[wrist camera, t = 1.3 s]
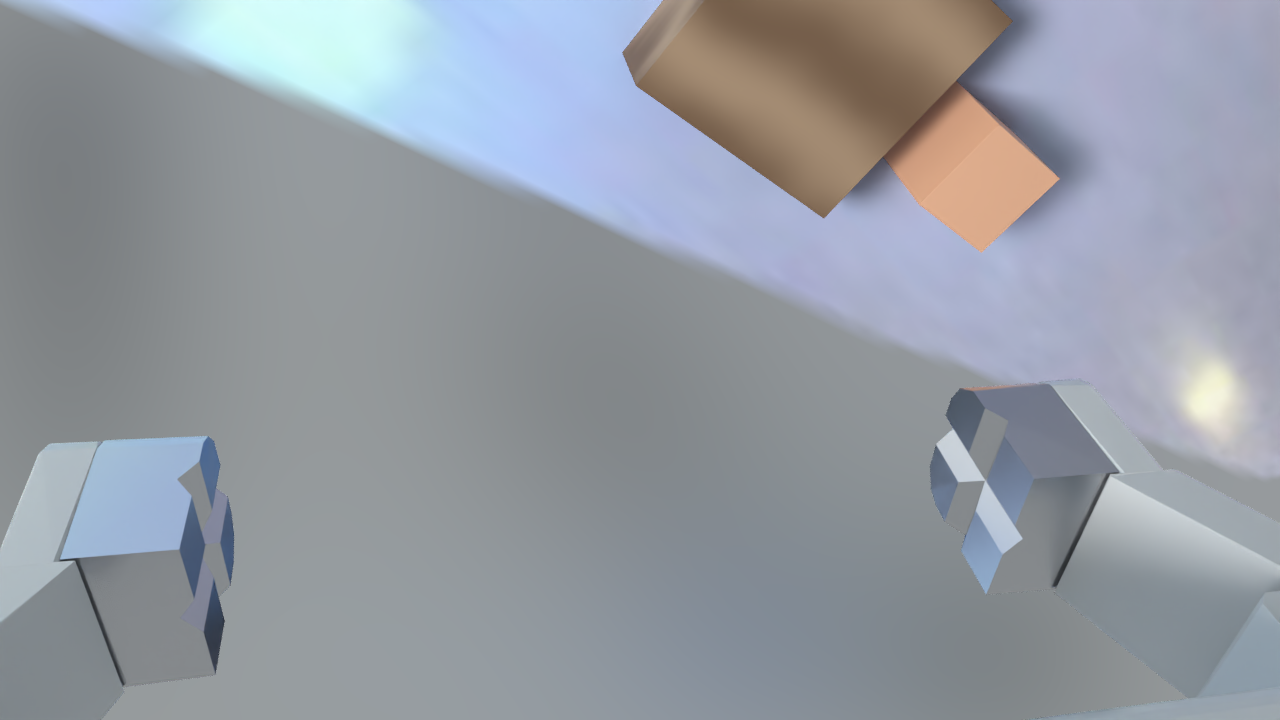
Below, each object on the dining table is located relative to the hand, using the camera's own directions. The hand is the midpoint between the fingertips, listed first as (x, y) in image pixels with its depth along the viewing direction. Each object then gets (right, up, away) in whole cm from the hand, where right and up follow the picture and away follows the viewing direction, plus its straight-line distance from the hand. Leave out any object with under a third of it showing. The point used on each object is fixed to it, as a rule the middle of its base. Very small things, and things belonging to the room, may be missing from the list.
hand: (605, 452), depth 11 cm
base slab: (+8, +17, +37) cm, 41 cm away
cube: (+16, +12, +42) cm, 47 cm away
